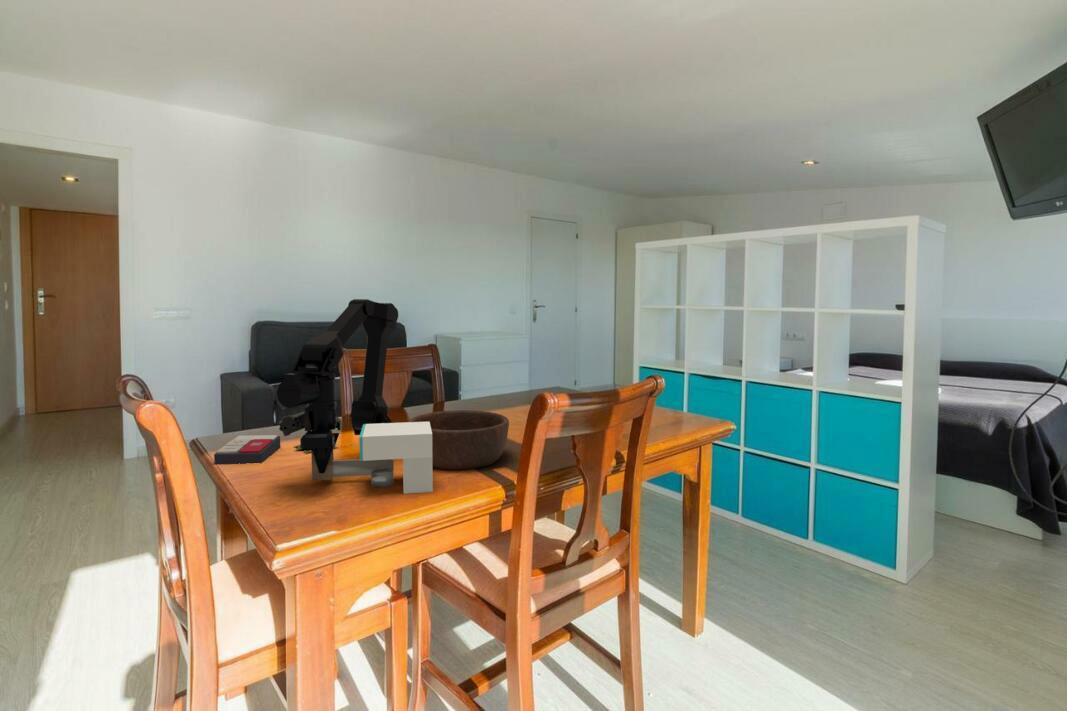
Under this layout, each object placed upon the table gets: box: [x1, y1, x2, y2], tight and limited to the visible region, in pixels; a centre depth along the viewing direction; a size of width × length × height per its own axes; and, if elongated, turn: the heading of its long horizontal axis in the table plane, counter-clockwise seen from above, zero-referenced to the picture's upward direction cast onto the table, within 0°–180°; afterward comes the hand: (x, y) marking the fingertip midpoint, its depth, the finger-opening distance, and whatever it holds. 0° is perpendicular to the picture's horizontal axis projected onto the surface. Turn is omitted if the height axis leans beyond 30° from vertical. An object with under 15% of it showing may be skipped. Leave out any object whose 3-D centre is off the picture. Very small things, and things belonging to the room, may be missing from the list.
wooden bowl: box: [409, 409, 510, 471], centre depth 147 cm, size 25×25×10 cm
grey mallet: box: [310, 450, 395, 481], centre depth 128 cm, size 4×17×7 cm, turn 103°
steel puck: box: [370, 469, 395, 489], centre depth 127 cm, size 5×5×3 cm
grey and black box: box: [213, 434, 281, 465], centre depth 148 cm, size 11×4×15 cm
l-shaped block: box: [358, 421, 434, 495], centre depth 126 cm, size 12×15×12 cm
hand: (323, 470), depth 127 cm, fingers closed on grey mallet, 4 cm apart
